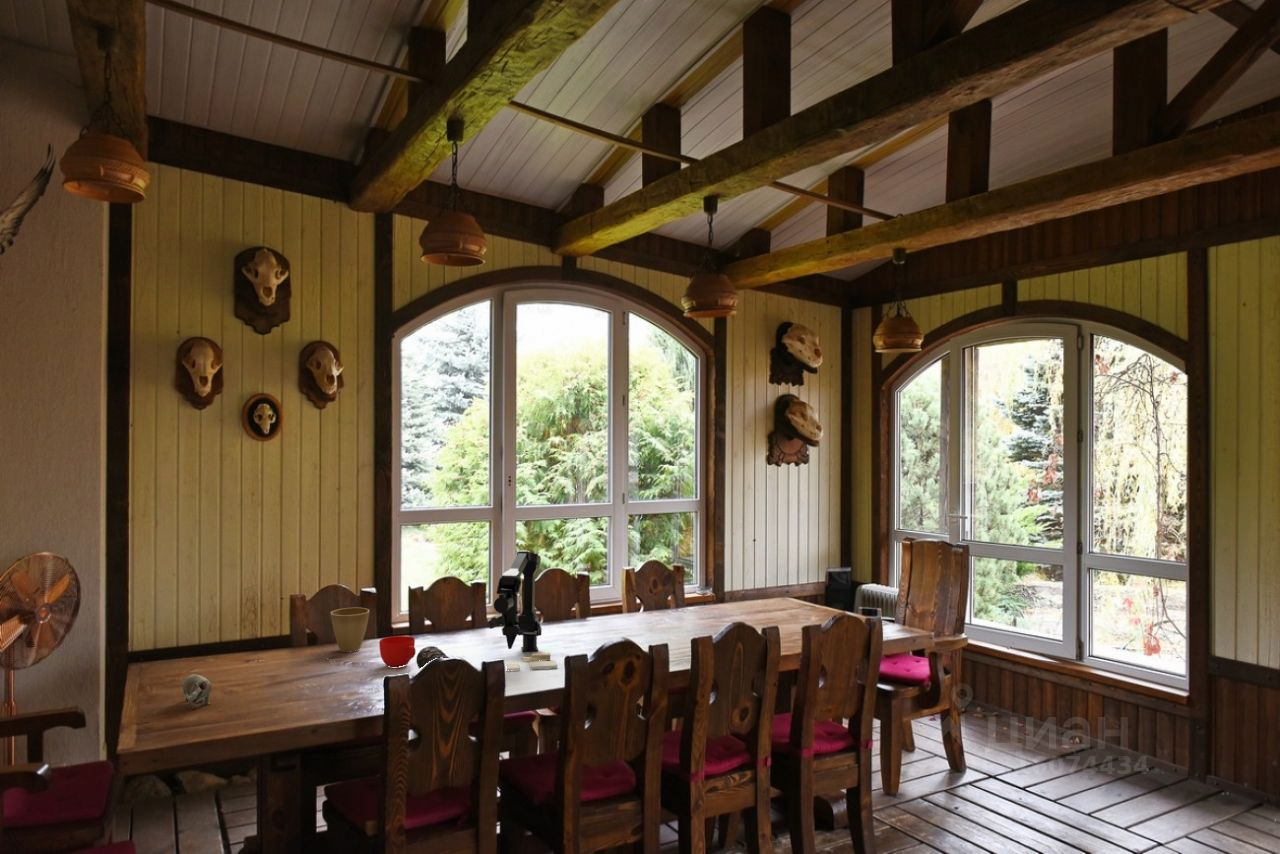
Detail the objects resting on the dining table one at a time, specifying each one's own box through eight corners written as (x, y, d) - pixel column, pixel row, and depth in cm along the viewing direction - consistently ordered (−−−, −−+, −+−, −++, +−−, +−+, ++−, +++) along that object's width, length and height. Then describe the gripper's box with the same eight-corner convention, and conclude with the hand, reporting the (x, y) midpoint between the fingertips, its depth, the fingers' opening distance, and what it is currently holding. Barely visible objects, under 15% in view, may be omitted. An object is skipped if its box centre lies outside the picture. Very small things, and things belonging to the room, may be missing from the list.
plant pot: (328, 648, 340) (329, 609, 340) (366, 644, 346) (367, 606, 346) (331, 656, 326) (332, 616, 327) (371, 652, 333) (371, 613, 333)
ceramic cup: (399, 674, 301) (400, 647, 301) (371, 667, 311) (372, 640, 312) (428, 667, 311) (428, 640, 312) (400, 660, 322) (400, 634, 322)
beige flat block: (522, 659, 324) (522, 653, 324) (549, 658, 326) (549, 652, 326) (523, 663, 319) (523, 656, 319) (550, 661, 321) (550, 655, 321)
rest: (529, 665, 315) (529, 661, 315) (555, 663, 317) (555, 660, 317) (530, 669, 308) (530, 666, 308) (557, 668, 310) (557, 665, 310)
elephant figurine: (208, 687, 276) (208, 657, 268) (214, 720, 267) (214, 690, 259) (182, 693, 271) (180, 662, 264) (187, 727, 262) (186, 696, 255)
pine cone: (437, 683, 291) (437, 654, 291) (410, 673, 303) (410, 646, 303) (462, 677, 298) (462, 649, 298) (435, 668, 310) (435, 641, 311)
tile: (499, 663, 313) (501, 668, 306) (518, 662, 315) (520, 667, 307) (499, 667, 313) (501, 673, 306) (518, 666, 315) (520, 672, 307)
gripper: (487, 603, 321) (487, 643, 321) (489, 613, 303) (489, 656, 303) (516, 602, 324) (516, 642, 323) (519, 612, 305) (519, 654, 305)
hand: (509, 648), depth 314 cm, fingers closed
